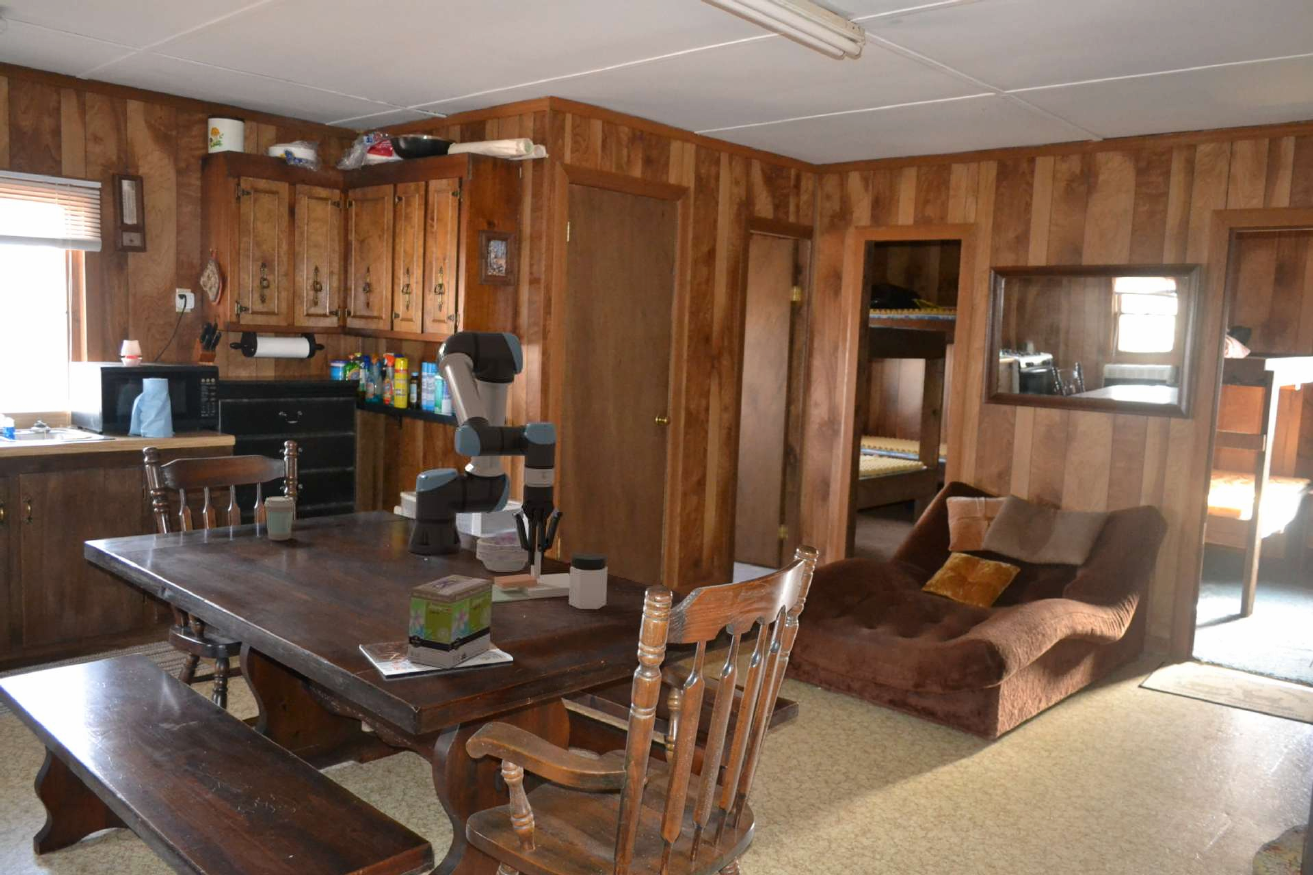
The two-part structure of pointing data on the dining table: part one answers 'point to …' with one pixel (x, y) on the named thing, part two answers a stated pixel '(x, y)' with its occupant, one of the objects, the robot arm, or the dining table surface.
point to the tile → (515, 581)
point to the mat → (507, 594)
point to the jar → (588, 581)
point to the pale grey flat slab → (548, 586)
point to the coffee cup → (279, 517)
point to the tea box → (449, 620)
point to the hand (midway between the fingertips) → (535, 577)
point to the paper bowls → (502, 553)
